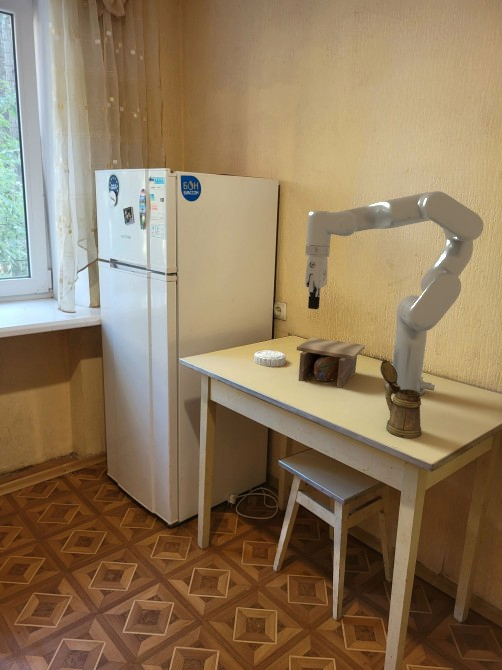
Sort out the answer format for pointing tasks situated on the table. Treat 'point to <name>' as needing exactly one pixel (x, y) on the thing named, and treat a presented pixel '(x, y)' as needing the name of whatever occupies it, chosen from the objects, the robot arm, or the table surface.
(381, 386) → the table surface
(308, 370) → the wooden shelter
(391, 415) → the wooden mug
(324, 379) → the tin
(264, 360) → the mooncake
